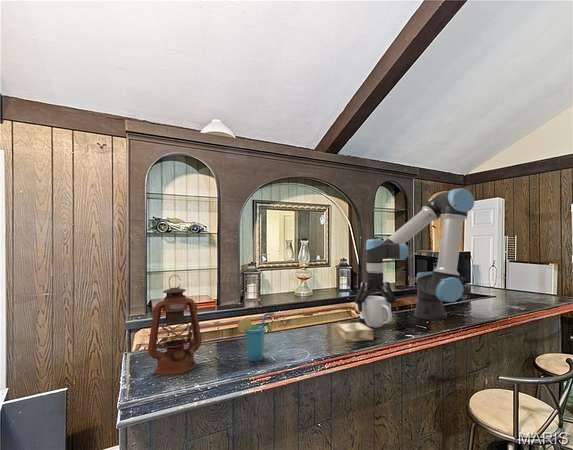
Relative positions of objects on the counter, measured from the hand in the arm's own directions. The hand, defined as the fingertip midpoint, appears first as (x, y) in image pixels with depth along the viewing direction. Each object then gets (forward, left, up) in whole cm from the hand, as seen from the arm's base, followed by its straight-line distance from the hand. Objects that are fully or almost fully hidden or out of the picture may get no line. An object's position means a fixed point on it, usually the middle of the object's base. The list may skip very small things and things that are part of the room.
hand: (375, 317), depth 149 cm
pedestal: (+17, +12, -4) cm, 21 cm away
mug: (0, 0, -4) cm, 4 cm away
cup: (+59, +26, -4) cm, 64 cm away
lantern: (+86, +27, -4) cm, 90 cm away
